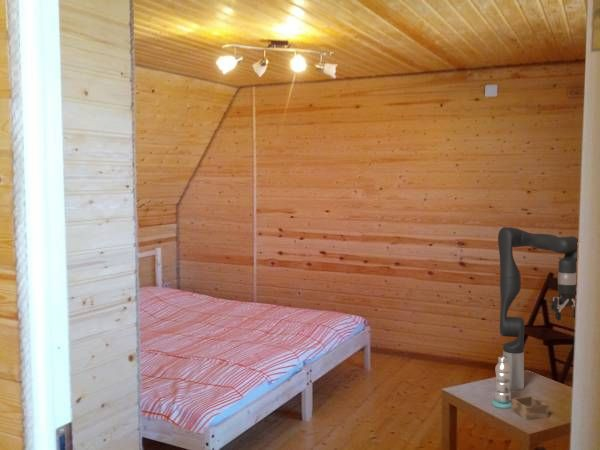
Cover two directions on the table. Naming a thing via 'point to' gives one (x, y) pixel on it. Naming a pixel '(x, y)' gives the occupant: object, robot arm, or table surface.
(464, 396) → the table surface
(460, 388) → the table surface
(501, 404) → the teal coaster
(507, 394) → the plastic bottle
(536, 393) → the table surface
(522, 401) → the walnut holder
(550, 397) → the table surface
